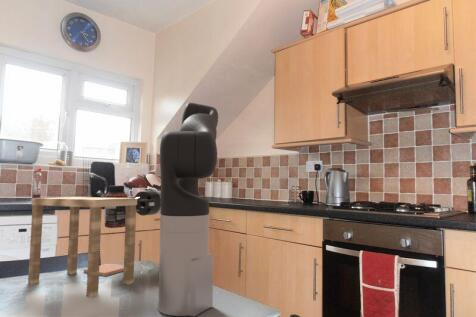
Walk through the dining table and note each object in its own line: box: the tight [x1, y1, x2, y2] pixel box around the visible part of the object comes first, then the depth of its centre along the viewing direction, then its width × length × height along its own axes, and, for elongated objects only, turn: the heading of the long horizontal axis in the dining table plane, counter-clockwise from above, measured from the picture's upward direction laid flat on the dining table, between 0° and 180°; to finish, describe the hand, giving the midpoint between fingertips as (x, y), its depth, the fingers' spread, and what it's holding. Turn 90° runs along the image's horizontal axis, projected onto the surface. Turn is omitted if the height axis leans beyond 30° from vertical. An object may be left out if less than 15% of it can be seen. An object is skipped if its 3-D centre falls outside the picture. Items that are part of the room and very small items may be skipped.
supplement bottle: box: [104, 184, 129, 229], centre depth 92 cm, size 6×6×11 cm
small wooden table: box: [27, 196, 137, 298], centre depth 79 cm, size 22×12×20 cm, turn 63°
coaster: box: [83, 263, 124, 277], centre depth 90 cm, size 8×8×1 cm
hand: (109, 205), depth 90 cm, fingers closed on supplement bottle, 6 cm apart
